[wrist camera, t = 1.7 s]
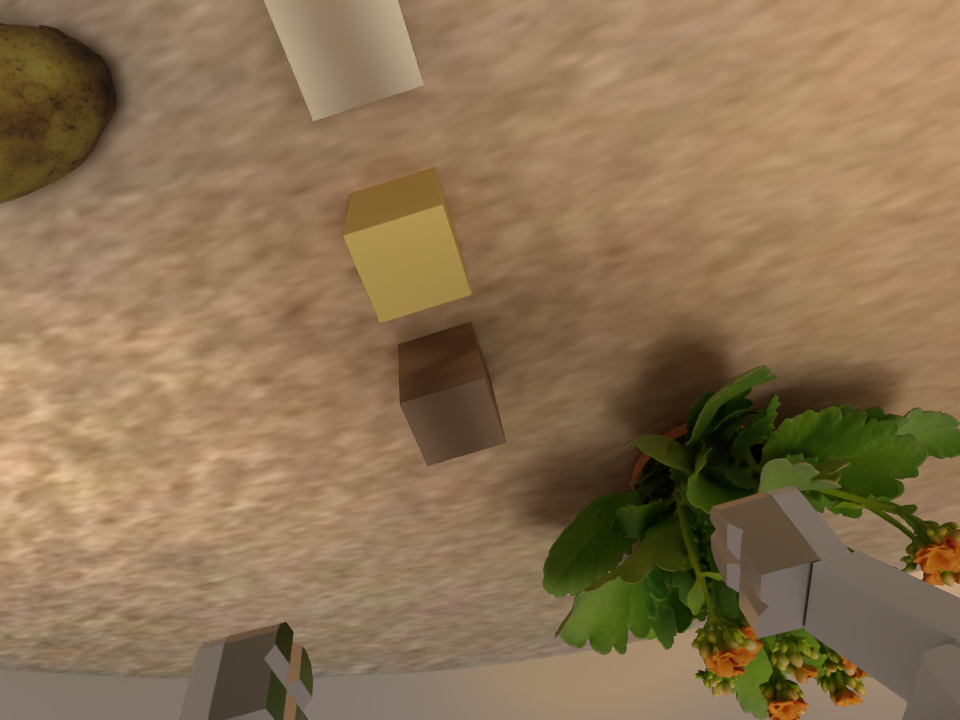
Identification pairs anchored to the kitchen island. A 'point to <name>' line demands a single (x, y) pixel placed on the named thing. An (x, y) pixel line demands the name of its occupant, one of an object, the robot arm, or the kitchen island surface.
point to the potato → (48, 106)
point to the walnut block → (448, 395)
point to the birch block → (345, 51)
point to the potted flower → (687, 529)
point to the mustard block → (405, 246)
